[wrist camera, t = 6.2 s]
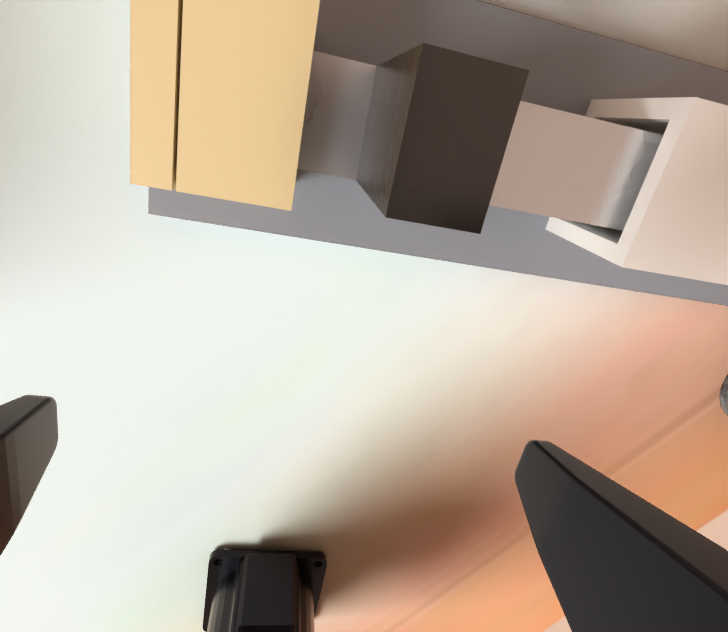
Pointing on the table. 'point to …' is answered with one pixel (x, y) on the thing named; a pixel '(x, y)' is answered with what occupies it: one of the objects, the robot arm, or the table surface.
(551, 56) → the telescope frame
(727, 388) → the dark grey statuette
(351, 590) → the table surface
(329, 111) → the steel t-shaped block
